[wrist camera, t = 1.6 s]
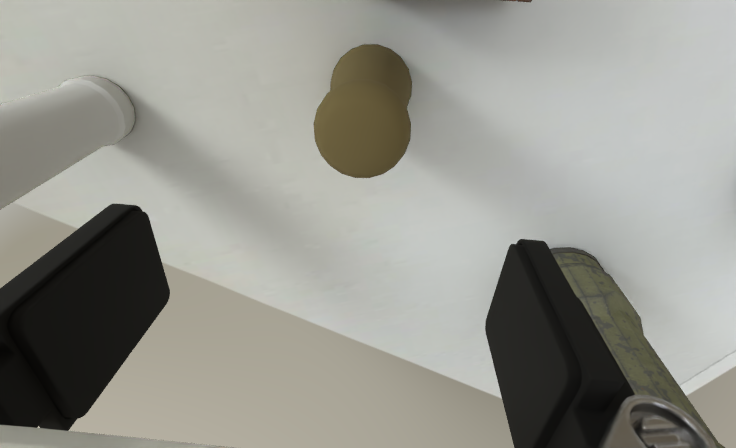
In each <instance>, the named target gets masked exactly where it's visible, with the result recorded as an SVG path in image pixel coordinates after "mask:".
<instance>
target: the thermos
mask: <svg viewBox="0 0 736 448" xmlns="http://www.w3.org/2000/svg"><path fill="white" fill-rule="evenodd" d="M550 251H551V253H552V254H553V256H554V258H555V260H556V261H557V263H558V265H559V267H560V268H561V270H562V272H563V274H564V275H565V277H566V279H567V281H568V283H569V284H570V286H571V288H572V290H573V291H574V293H575V295H576V297H578V298H579V299H580V300H581V302H582V303H583V305H584V306H585V308H586V310H587V312H588V313H589V315H590V317H591V319H592V320H593V322H594V324H595V325H596V327H597V329H598V331H599V332H600V334H601V336H602V338H603V339H604V341H605V343H606V345H607V346H608V348H609V350H610V351H611V353H612V355H613V357H614V358H615V360H616V362H617V364H618V365H619V367H620V369H621V371H622V372H623V374H624V376H625V378H626V379H627V381H628V383H629V384H630V386H631V388H632V390H633V391H634V393H635V395H650V396H653V397H657V398H661V399H663V400H665V401H667V402H669V403H671V404H674V405H676V406H677V407H679V408H680V409H682V410H683V411H685V412H686V413H687V414H689V415H690V416H691V417H693V418H694V419H695V420H696V421H697V422H698V423H699V424H700V425H701V426H702V427H703V428H704V429H705V430H706V432H707V433H708V434H709V435H710V437H711V438H712V439H713V441H714V443H715V445H716V447H717V448H725V447H724V446H722V445H721V444H720V443H718V441H717V440H716V438H715V437H714V436H713V434H712V433H711V431H710V430H709V428H708V427H707V426H706V424H705V423H704V421H703V420H702V419H701V417H700V415H699V414H698V413H697V411H696V410H695V408H694V407H693V405H692V404H691V403H690V401H689V400H688V398H687V397H686V395H685V394H684V392H683V391H682V390H681V388H680V387H679V385H678V384H677V382H676V381H675V380H674V378H673V377H672V375H671V374H670V372H669V371H668V369H667V368H666V367H665V365H664V364H663V362H662V361H661V359H660V358H659V357H658V355H657V354H656V352H655V351H654V349H653V348H652V347H651V345H650V344H649V342H648V341H647V339H646V338H645V337H644V335H643V329H642V324H641V318H640V316H639V315H638V314H637V312H636V311H635V309H634V308H633V306H632V305H631V304H630V302H629V301H628V299H627V298H626V297H625V295H624V294H623V292H622V291H621V290H620V288H619V287H618V286H617V284H616V283H615V281H614V280H613V279H612V277H611V276H610V275H609V274H608V273H606V272H604V270H603V268H602V267H601V266H600V264H599V263H598V261H597V260H596V258H595V257H593V256H592V255H590V254H588V253H587V252H585V251H583V250H578V249H574V248H554V249H550Z"/></svg>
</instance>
